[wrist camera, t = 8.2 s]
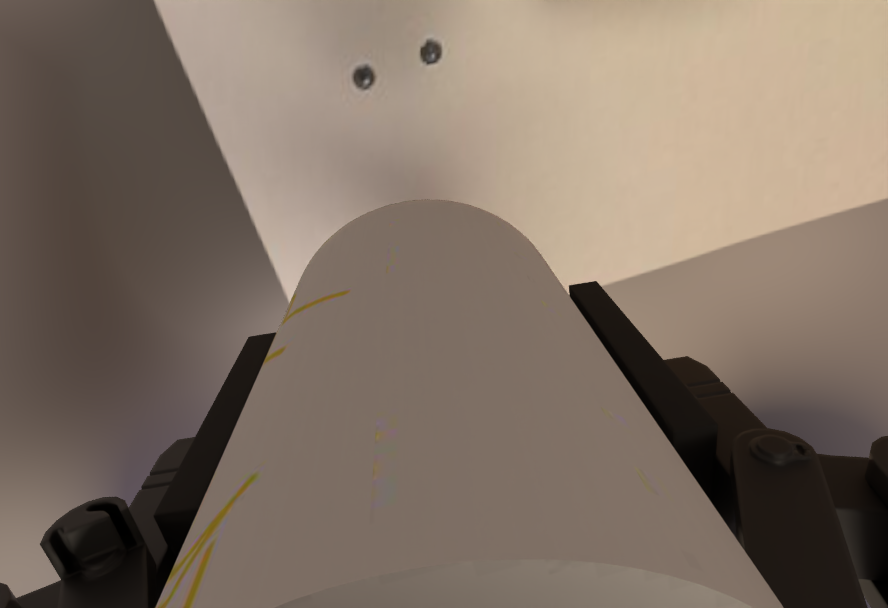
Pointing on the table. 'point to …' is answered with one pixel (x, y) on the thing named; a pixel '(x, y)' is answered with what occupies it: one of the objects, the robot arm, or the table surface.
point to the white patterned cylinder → (449, 446)
